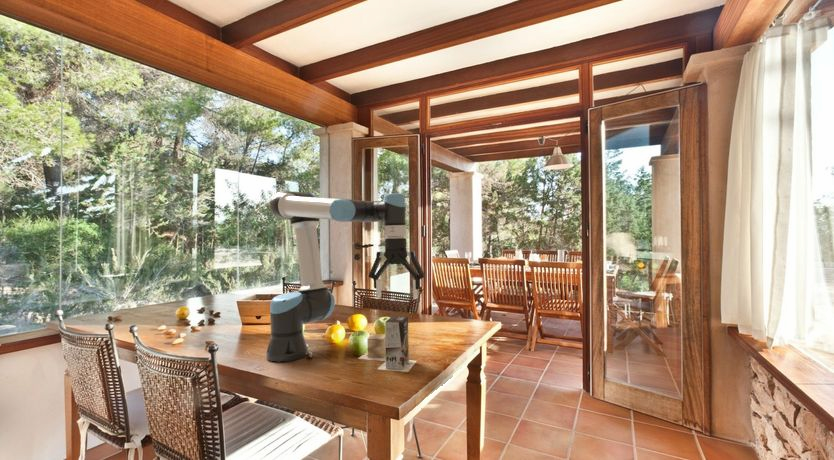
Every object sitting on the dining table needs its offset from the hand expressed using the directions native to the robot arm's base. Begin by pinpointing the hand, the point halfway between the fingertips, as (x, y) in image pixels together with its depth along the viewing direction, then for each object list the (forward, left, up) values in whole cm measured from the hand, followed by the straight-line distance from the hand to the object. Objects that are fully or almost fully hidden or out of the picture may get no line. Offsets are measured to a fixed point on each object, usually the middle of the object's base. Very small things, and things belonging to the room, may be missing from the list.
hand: (397, 298), depth 130 cm
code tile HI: (-11, +8, -24) cm, 27 cm away
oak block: (-11, +8, -23) cm, 27 cm away
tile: (0, 0, -24) cm, 24 cm away
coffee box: (0, 0, -24) cm, 24 cm away
